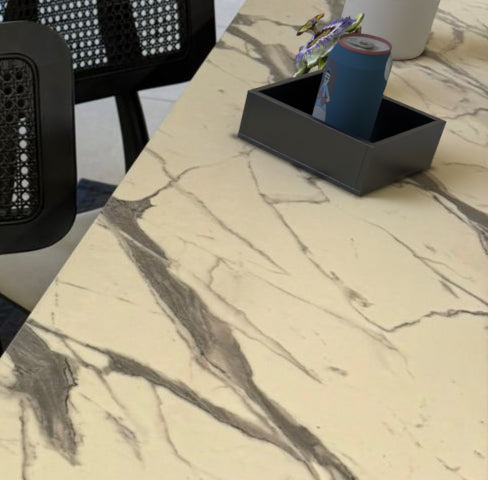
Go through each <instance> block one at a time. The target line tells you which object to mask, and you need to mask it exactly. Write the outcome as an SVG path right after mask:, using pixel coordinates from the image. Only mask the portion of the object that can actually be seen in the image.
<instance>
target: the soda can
mask: <svg viewBox="0 0 488 480" xmlns="http://www.w3.org/2000/svg"><path fill="white" fill-rule="evenodd" d="M391 50H392V45H391V43H390V42H388V41H387V40H385V39H383V38H380V37H377V36H373V35H369V34H362V33H347V34H343V35H341V36H340V37H339V39H338V42H337V43H336V45H335V46H334V47H333V48H332V49H331V51H330V52H329V55H328V59H327V62H326V66H325V70H324V73H323V77H322V80H321V84H320V88H319V91H318V95H317V99H316V102H315V106H314V110H313V113H312V116H313V117H315V118H317V119H320V120H322V121H324V122H326V123H329V124H331V125H333V126H335V127H337V128H340V129H342V130H344V131H346V132H348V133H351V134H353V135H355V136H357V137H359V138H362V139H364V140H366V141H368V142H369V139H370V136H371V133H372V130H373V126H374V123H375V120H376V117H377V113H378V110H379V107H380V104H381V101H382V97H383V95H385V91H386V88H387V84H388V81H389V78H390V74H391V72H392V68H393V66H394V63H393V61H394V60H392V55H391Z"/></svg>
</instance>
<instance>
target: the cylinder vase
mask: <svg viewBox="0 0 488 480" xmlns="http://www.w3.org/2000/svg"><path fill="white" fill-rule="evenodd" d="M440 3H441V0H345V2H344V6H343V9H342V13H341V17H340V19H341V18H342V17H343V19H345V17H349V16H350V18H351V19H354V18H356V17H357V15H358V14H359V13H364V14H365V15H364V18H363V20H362V21H361V27H362V28H361V33H362V34H369V35H373V36H377V37H380V38H383V39H385V40H387V41H388V42H390V43H391V45H392V50H391V55H392V61H405V60H412V59H415V58H417V57H419V56H420V55H421V54H422V53H423V52H424V51H425V48H426V46H427V43H428V39H429V35H430V33H431V30H432V28H433V24H434V21H435V18H436V15H437V12H438V10H439V6H440ZM353 32H355V31H353Z"/></svg>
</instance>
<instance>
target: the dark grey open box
mask: <svg viewBox="0 0 488 480" xmlns="http://www.w3.org/2000/svg"><path fill="white" fill-rule="evenodd" d="M323 73H324V70H322V69H321V70H318V69H317V70H313V71H309V72H308V73H307V74H303V75H300V76H296V77H293V76H292V77H289V78H286V79H283V80H278V81H277V82H276V81H275V82H271V83H269V84H265V85H262V86H258V87H255V88H252V89H251V88H250V89H247V93H246V97H245V100H244V101H245V102H244V106H243V110H242V114H241V119H240V123H239V128H238V133H237V138H238V139H240V140H242V141H244V142H246V143H248V144H250V145H252V146H254V147H256V148H258V149H260V150H263V151H264V152H267V153H269V154H271V155H273V156H274V157H277V158H279V159H281V160H283V161H285V162H287V163H289V164H291V165H292V166H295V167H297V168H299V169H301V170H303V171H305V172H307V173H309V174H311V175H313V176H316V177H317V178H319V179H321V180H324V181H325V182H328V183H329V184H332V185H333V186H336V187H338V188H340V189H342V190H344V191H346V192H348V193H350V194H353V195H354V196H356V197H358V198H359V197H363V196H365V195H367V194H368V193H369V194H370V193H372V192H374V191H377V190H379V189H382V188H385V187H386V186H389V185H392V184H395V183H397V182H400V181H402V180H404V179H407V178H409V177H412V176H415V175H417V174H419V173H422V172H425V171H427V170H429V169H430V168H431V166H432V164H433V161H434V157H435V155H436V152H437V150H438V147H439V144H440V142H441V138H442V135H443V132H444V130H445V127H446V125H447V121H446V120H444V119H442V118H440V117H437V116H435V115H433V114H430V113H428V112H425V111H424V110H420V109H418V108H416V107H413V106H411V105H409V104H406V103H404V102H402V101H399V100H396V99H394V98H392V97H390V96H387V95H385V94H383V97H382V101H381V104H380V107H379V110H378V113H377V117H376V120H375V123H374V126H373V130H372V133H371V136H370V139H369V142H368V141H366V140H364V139H362V138H359V137H357V136H355V135H353V134H351V133H348V132H346V131H344V130H342V129H340V128H337V127H335V126H333V125H331V124H329V123H326V122H324V121H322V120H320V119H317V118H315V117H313V116H312V113H313V110H314V106H315V102H316V99H317V95H318V91H319V88H320V84H321V80H322V77H323Z"/></svg>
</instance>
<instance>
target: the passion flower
mask: <svg viewBox="0 0 488 480" xmlns="http://www.w3.org/2000/svg"><path fill="white" fill-rule="evenodd" d="M364 15H365V14H364V13H359V14H358V15H357V17H356V18H354V19H351V18H350V16H349V17H345V19H343V17H342V18H341V17H340V19H339V18H337V19H336V20H332V21H331V22H329V23H328V22H326V24H325V26H324V27H323V28H322V29H321V31H320V30H318V28H317V26H316V25H317V24H318V23H319V21H320V20H321V19H322V18H324V17H325V13H324V12H321V13H319V14H317V15H315V16H314V17H312V18H311V19H310V18H309V19H308V20H307V22H306V23H305V24H303V25H302V26H301V27H300V28H299V29H298V31H297V32H296V34H295V36H296V37H300V36H301V35H303V34H304V33H306V32H308V31H310V30H311V31H313V34H312V36H311V38H310V39H309V40H308V41H306V42H305V43H304V45H301V46H299V49H298V53H297V54H295V57H294V59H293V61H294V65H295V68H296V69H297V72H295V73H294V75H293V76H292V78H293V77H296V76H300V75H303V74H307V73H310V72H311V70H312V68H315V67H318V68H317V70H321V69H322V70H325V66H326V62H327V59H328V55H329V52H330V51H331V49H332V48H333V47H334V46H335V45H336V43H337V42H338V39H339V37H340V36H341V35H343V34H347V33H361V28H362V27H361V21H362V20H363V18H364ZM353 31H355V32H353Z"/></svg>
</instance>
